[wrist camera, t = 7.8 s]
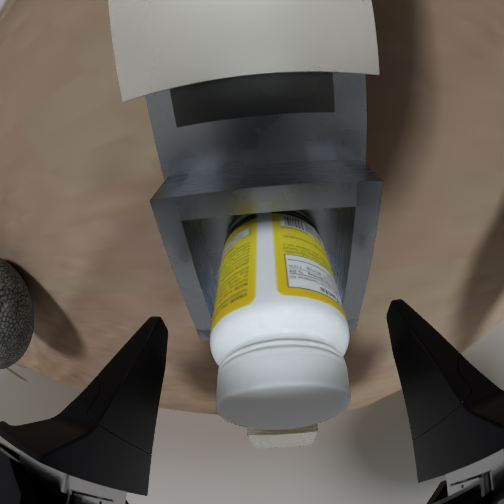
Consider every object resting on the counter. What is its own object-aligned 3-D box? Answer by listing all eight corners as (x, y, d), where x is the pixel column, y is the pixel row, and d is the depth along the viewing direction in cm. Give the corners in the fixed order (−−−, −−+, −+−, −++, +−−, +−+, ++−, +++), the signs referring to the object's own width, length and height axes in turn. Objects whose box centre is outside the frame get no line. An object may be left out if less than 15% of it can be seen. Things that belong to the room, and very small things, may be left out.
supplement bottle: (236, 285, 15) (225, 434, 9) (214, 211, 13) (171, 383, 6) (322, 273, 15) (354, 422, 8) (317, 195, 12) (378, 363, 5)
